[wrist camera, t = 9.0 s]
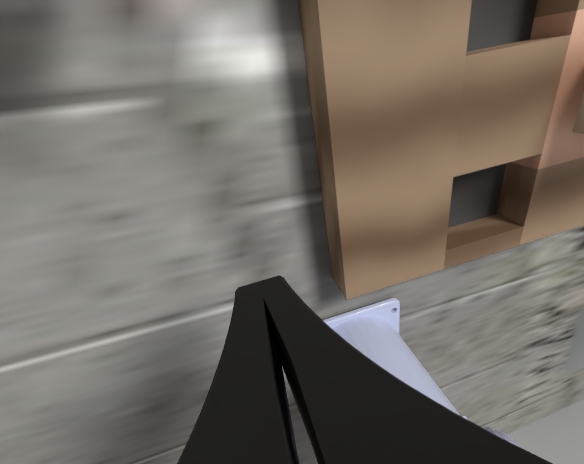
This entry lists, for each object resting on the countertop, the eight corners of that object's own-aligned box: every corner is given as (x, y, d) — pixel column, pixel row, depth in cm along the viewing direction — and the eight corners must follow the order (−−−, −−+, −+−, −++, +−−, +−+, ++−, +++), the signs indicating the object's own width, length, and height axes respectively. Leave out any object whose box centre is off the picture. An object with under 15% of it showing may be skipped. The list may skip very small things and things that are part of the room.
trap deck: (585, 200, 25) (621, 212, 22) (332, 277, 21) (346, 299, 19) (702, -141, 15) (784, -176, 13) (286, -95, 12) (305, -132, 10)
